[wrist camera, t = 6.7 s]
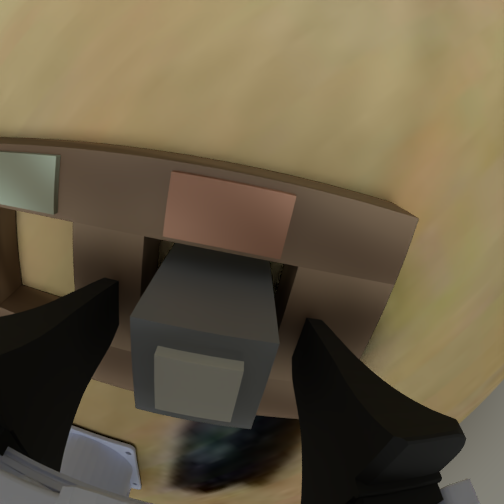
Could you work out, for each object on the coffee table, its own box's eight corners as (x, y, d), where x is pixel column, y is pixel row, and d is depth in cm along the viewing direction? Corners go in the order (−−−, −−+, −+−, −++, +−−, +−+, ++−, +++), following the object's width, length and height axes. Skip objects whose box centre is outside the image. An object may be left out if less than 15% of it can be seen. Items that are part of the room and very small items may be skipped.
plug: (251, 329, 15) (250, 438, 9) (170, 315, 15) (132, 416, 9) (268, 255, 13) (280, 353, 8) (177, 238, 13) (125, 324, 7)
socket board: (318, 387, 16) (326, 424, 14) (-12, 305, 15) (-35, 327, 12) (392, 202, 12) (422, 220, 10) (-26, 137, 11) (-60, 144, 8)
